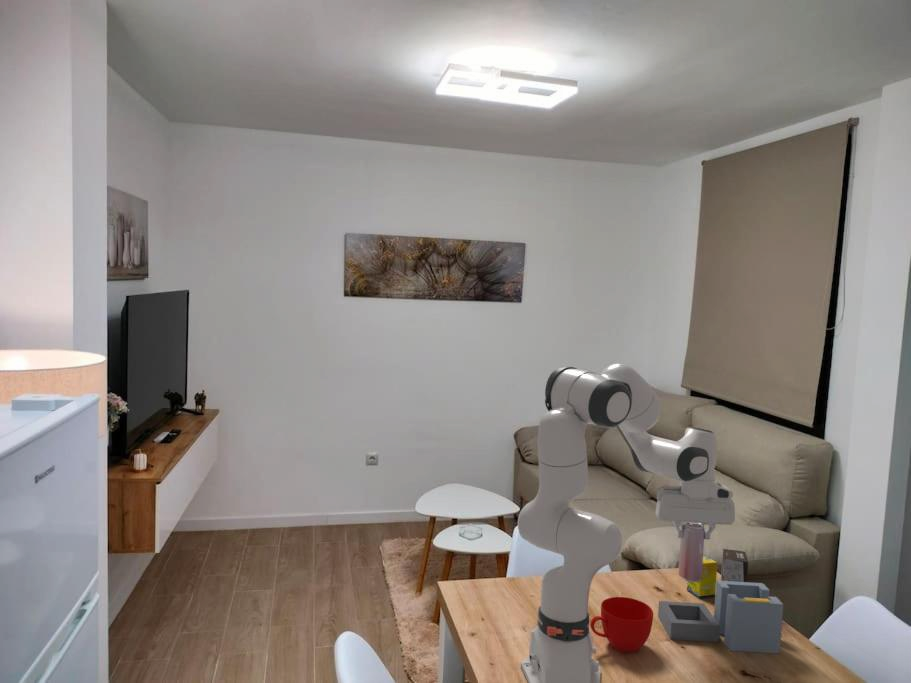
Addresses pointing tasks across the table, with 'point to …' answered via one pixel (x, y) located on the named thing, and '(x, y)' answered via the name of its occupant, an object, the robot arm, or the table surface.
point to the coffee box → (734, 566)
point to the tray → (688, 621)
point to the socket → (748, 617)
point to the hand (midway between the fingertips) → (693, 537)
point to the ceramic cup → (624, 623)
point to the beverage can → (691, 551)
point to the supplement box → (705, 580)
